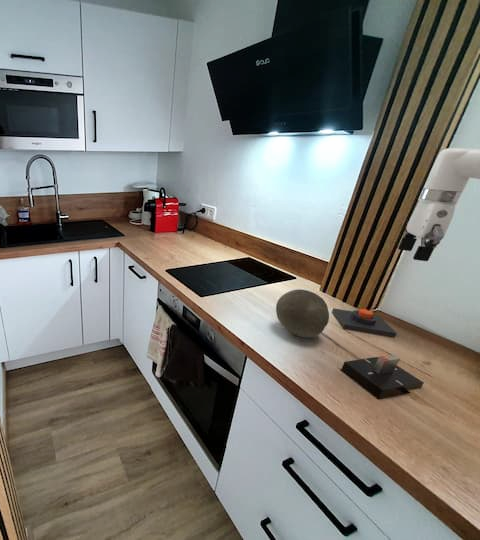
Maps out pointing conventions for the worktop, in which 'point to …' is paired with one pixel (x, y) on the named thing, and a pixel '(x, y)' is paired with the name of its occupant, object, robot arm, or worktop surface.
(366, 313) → the kettle button
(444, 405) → the worktop surface
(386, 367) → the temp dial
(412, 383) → the panel
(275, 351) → the worktop surface
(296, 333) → the cantaloupe
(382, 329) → the grey flat block
